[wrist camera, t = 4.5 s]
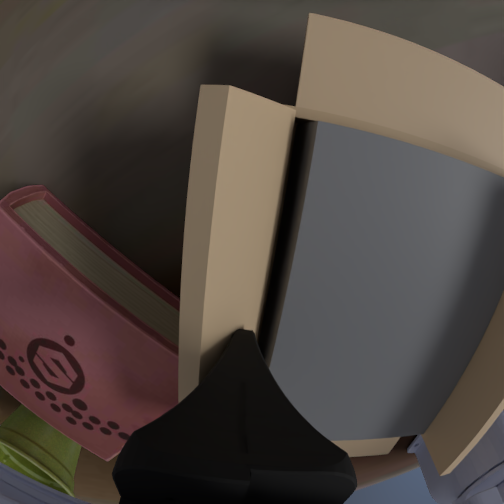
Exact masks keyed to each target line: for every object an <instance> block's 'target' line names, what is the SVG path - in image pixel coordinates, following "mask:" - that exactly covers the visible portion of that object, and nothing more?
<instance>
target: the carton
mask: <svg viewBox="0 0 504 504" xmlns="http://www.w3.org/2000/svg"><path fill="white" fill-rule="evenodd" d="M285 106H287V107H290V108H292V109H294V110H296V114H295V121H294V127H293V134H292V140H291V146H290V153H289V159H288V165H287V171H286V177H285V183H284V189H283V195H282V201H281V207H280V213H279V219H278V225H277V231H276V237H275V242H274V248H273V254H272V259H271V265H270V271H269V276H268V282H267V287H266V293H265V298H264V304H263V309H262V315H261V320H260V325H259V331H258V336H257V343H258V346H259V348H260V351H261V353H262V355H263V358H264V360H265V362H266V364H267V366H268V368H269V370H270V372H271V374H272V375H273V377H274V379H275V380H276V382H277V384H278V385H279V387H280V388H281V390H282V391H283V393H284V394H285V396H286V397H287V398H288V400H289V401H290V402H291V403H292V405H293V406H294V407H295V408H296V409H297V411H298V412H299V413H300V414H301V415H302V416H303V417H304V418H305V419H306V420H307V421H308V422H309V423H310V424H311V425H312V426H313V427H314V428H315V429H316V430H317V431H319V432H320V433H321V434H322V435H323V436H324V437H326V438H327V439H328V440H330V441H331V442H333V443H334V444H335V445H337V446H338V447H340V448H341V449H343V450H344V451H346V452H347V453H348V455H349V457H358V456H372V455H382V454H388V453H389V452H390V451H391V449H392V448H393V447H394V445H395V444H396V443H397V441H398V440H399V438H400V437H403V436H412V435H419V434H424V433H425V431H426V430H427V429H428V427H429V426H430V424H431V423H432V422H433V420H434V419H435V417H436V416H437V414H438V413H439V411H440V410H441V408H442V407H443V405H444V404H445V402H446V401H447V399H448V398H449V396H450V395H451V393H452V391H453V390H454V388H455V386H456V385H457V383H458V382H459V380H460V378H461V376H462V375H463V373H464V371H465V370H466V368H467V366H468V364H469V362H470V361H471V359H472V357H473V355H474V353H475V351H476V349H477V347H478V345H479V343H480V342H481V340H482V338H483V335H484V333H485V331H486V329H487V327H488V325H489V323H490V321H491V319H492V316H493V314H494V312H495V310H496V307H497V305H498V303H499V300H500V298H501V295H502V293H503V290H504V87H503V86H501V85H500V84H498V83H496V82H495V81H493V80H491V79H489V78H488V77H486V76H484V75H482V74H480V73H478V72H476V71H475V70H473V69H471V68H469V67H467V66H465V65H463V64H461V63H459V62H457V61H454V60H452V59H450V58H448V57H446V56H444V55H441V54H439V53H437V52H435V51H432V50H430V49H427V48H425V47H423V46H420V45H418V44H415V43H412V42H410V41H407V40H404V39H402V38H399V37H396V36H393V35H390V34H387V33H384V32H381V31H378V30H375V29H372V28H368V27H365V26H362V25H358V24H355V23H351V22H347V21H343V20H339V19H335V18H331V17H327V16H322V15H318V14H313V13H309V15H308V21H307V28H306V35H305V42H304V49H303V56H302V63H301V70H300V77H299V83H298V90H297V97H296V103H295V106H290V105H285Z"/></svg>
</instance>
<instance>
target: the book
mask: <svg viewBox="0 0 504 504" xmlns="http://www.w3.org/2000/svg"><path fill="white" fill-rule="evenodd" d="M179 318H180V298H178V297H177V296H176V295H174V294H173V293H172V292H170V291H169V290H168V289H166V288H165V287H164V286H162V285H161V284H160V283H158V282H157V281H156V280H155V279H153V278H152V277H151V276H149V275H148V274H147V273H146V272H144V271H143V270H142V269H141V268H139V267H138V266H137V265H136V264H134V263H133V262H132V261H131V260H129V259H128V258H127V257H126V256H124V255H123V254H122V253H121V252H119V251H118V250H117V249H116V248H115V247H113V246H112V245H111V244H110V243H109V242H107V241H106V240H105V239H104V238H103V237H101V236H100V235H99V234H98V233H97V232H95V231H94V230H93V229H92V228H91V227H90V226H88V225H87V224H86V223H85V222H84V221H83V220H81V219H80V218H79V217H78V216H77V215H76V214H75V213H73V212H72V211H71V210H70V209H69V208H68V207H67V206H66V205H64V204H63V203H62V202H61V201H60V200H59V199H58V198H57V197H56V196H55V195H53V194H52V193H51V192H50V191H49V190H48V189H47V188H46V187H45V186H44V185H32V186H26V187H23V188H20V189H17V190H14V191H12V192H10V193H9V194H7V195H6V196H5V197H4V198H3V199H2V200H0V385H1V386H2V387H3V388H4V389H5V390H6V391H7V392H9V393H10V394H11V395H12V396H13V397H15V398H16V399H17V400H18V401H19V402H21V403H22V404H23V405H24V406H26V407H27V408H28V409H29V410H31V411H32V412H33V413H35V414H36V415H37V416H39V417H40V418H41V419H43V420H44V421H45V422H47V423H48V424H49V425H51V426H52V427H54V428H55V429H57V430H58V431H59V432H61V433H62V434H64V435H65V436H67V437H68V438H70V439H71V440H73V441H74V442H76V443H78V444H79V445H81V446H82V447H84V448H86V449H87V450H89V451H91V452H92V453H94V454H96V455H97V456H99V457H101V458H103V459H104V460H106V461H109V460H111V459H112V458H113V457H115V456H116V455H118V454H119V453H120V452H121V450H122V448H123V446H124V445H125V443H126V441H127V440H128V439H129V437H130V436H131V434H132V433H133V432H134V431H135V430H137V429H139V428H141V427H143V426H145V425H147V424H148V423H150V422H152V421H154V420H155V419H157V418H159V417H160V416H162V415H163V414H164V413H166V412H167V411H169V410H170V409H172V408H173V407H174V406H176V405H177V404H178V363H179Z"/></svg>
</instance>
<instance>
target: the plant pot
mask: <svg viewBox="0 0 504 504" xmlns="http://www.w3.org/2000/svg"><path fill="white" fill-rule="evenodd" d="M80 450H81V445H79V444H78V443H76V442H74V441H73V440H71V439H70V438H68V437H67V436H65V435H64V434H62V433H61V432H59V431H58V430H57V429H55V428H54V427H52V426H51V425H49V424H48V423H47V422H45V421H44V420H43V419H41V418H40V417H39V416H37V415H36V414H35V413H33V412H32V411H31V410H29V409H28V408H27V407H26V406H24V405H23V404H21V405H20V406H19V407H18V408H17V409H16V410H15V411H14V412H13V413H12V414H11V415H10V416H9V417H8V418H7V419H6V420H5V421H4V422H3V423H2V424H1V425H0V462H1V463H3V464H5V465H7V466H8V467H10V468H12V469H14V470H16V471H18V472H20V473H21V474H23V475H25V476H27V477H29V478H31V479H33V480H35V481H38V482H40V483H42V484H44V485H46V486H48V487H51V488H53V489H55V490H57V491H60V492H62V493H65V494H67V495H70V496H72V497H75V496H74V494H73V489H74V480H73V478H74V474H75V469H76V465H77V461H78V457H79V453H80Z"/></svg>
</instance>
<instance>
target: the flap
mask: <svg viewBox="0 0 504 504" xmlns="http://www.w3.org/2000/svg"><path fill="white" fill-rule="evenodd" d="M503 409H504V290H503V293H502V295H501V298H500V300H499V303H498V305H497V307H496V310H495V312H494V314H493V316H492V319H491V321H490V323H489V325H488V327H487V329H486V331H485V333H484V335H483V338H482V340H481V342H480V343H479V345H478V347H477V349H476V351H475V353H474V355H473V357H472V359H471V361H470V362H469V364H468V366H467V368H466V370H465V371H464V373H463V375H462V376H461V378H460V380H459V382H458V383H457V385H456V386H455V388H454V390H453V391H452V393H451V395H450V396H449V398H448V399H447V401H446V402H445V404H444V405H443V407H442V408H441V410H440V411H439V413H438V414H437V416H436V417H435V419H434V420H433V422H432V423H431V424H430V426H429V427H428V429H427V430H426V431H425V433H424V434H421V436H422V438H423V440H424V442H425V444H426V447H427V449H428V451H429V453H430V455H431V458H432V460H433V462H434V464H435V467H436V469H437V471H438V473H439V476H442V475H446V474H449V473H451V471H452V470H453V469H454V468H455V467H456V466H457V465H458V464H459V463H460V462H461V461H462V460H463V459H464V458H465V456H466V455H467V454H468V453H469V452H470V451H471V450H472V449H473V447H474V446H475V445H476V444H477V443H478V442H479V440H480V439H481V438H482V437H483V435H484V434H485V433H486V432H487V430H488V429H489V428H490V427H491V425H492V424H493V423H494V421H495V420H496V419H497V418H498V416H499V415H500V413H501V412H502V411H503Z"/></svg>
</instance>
